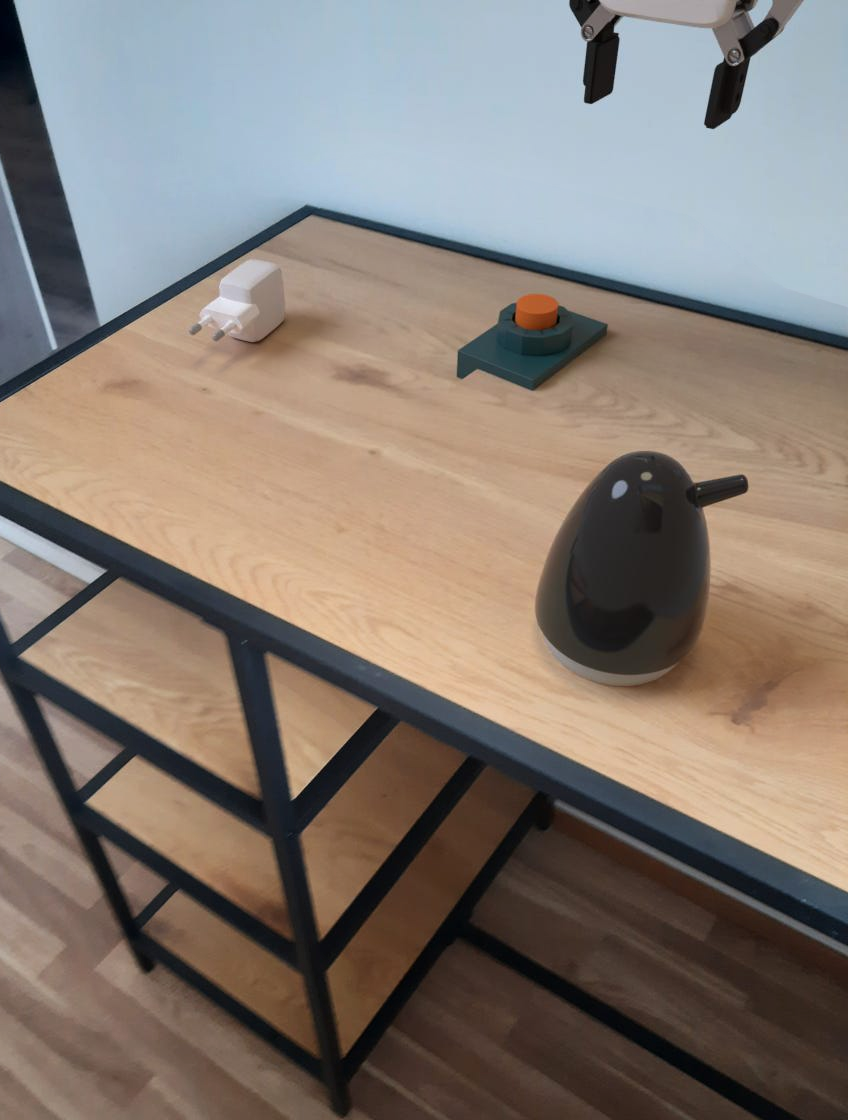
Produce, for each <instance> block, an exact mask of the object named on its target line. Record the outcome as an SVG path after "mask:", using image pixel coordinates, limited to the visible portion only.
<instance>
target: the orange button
mask: <svg viewBox="0 0 848 1120" xmlns="http://www.w3.org/2000/svg"><path fill="white" fill-rule="evenodd" d="M516 303H517V305H516V316H515V323H516V325H517V326H520V327H522V328H525V329H528V330H539V331H541V330H546V329H551V328H553V327H554V326H555V325H556V322H557V314H558V306H559V305H560V304H559V302H558V300H557V299H556V298H554V297H553V296H550V295H547V294H543V293H531V294H526V295H523V296H521V297H519V298H518V299H517V301H516Z"/></svg>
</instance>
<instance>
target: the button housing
mask: <svg viewBox="0 0 848 1120" xmlns="http://www.w3.org/2000/svg"><path fill="white" fill-rule="evenodd" d="M516 305H517V302H512V303H510V304H508V305H507V306H505V307H503V308H502V309H501V310H500V311H499V314H498V319H497V323H496V324H495V325H493V326H491V327H490V328H489V329H487V330H485V331H484V332H483V333H481V334H480V335H478V336H477V337H475V338H474V339H473V340H470V341H469V342H468V343H466V344H465V345H463V346H462V347H460V348H459V349H458V350H457V356H456V357H457V359H456V378H457V379H460V380H464V379H465V378H467V377H468V376H469V375H471V374H472V373H474V372H475V371H476V370H479V371H482V372H485V373H487V374H489V375H492V376H494V377H497V378H500V379H502V380H504V381H507V382H509V383H511V384H515V385H516V386H519V387H521V388H524V389H526V390H529V391H531V392H533V391H535V390H536V389H537V388H538V387H540V386H541V385H542V384H544V383H545V382H546V381H548V380H549V379H551V378H552V377H553V376H554V375H556V374H557V373H558V372H560V371H561V370H562V369H563V368H565V367H566V366H567V365H569V364H570V363H572V361H574V360H576V359H577V358H578V357H579V356H580V355H582V354H584V352H586V351H587V350H588V349H589V348H591V347H592V346H593V345H595V344H596V343H598V342H599V341H600V340H601V339H603V338H604V337H605V336H606V335H607V333H608V327H609V324H608V323H606V322H603V321H600V320H597V319H594V318H592V317H588V316H585V315H583V314H580V313H576V312H574V311H571V310H569V309H567V308H566V307H565V306H562V305H560V304H558V305H559V306H558V314H557V322H556V325H555V326H554V327H553V328H551V329H546V330H541V331H539V330H528V329H525V328H522V327H520V326H517V325H516V323H515V316H516Z"/></svg>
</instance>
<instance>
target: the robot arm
mask: <svg viewBox="0 0 848 1120" xmlns="http://www.w3.org/2000/svg"><path fill="white" fill-rule="evenodd" d="M804 1H805V0H772V4H771V7H770V9H769V10H768V12H767V14H766V15H765V17H764V18H763V20H762V21H761V22H760V23H758V24H757V25H756V26H755V25H754V23H753V21H752V18H751V16H750V13H749V12H750V11H752V10H753V9H754V8H755V7H756V6H757V4H758V2H759V0H569V1H568V2H569V3H568V6H569V8H570V10H571V13H572V14H573V15H574V17H575V19H576V21H577V22H578V24H579V26H580V28H581V29H580V36H581V39H582V40H583V41H584V42H586V46H585V47H586V48H585V56H584V57H585V58H584V66H583V76H582V84H583V86H584V94H583V103H584V104H588V105H593V104H595V103H597V102H599V101H600V100H603V99H604V98H606V97H608V96H610V95H611V94H612V93H613V91H614V86H615V78H616V71H617V64H618V57H619V56H618V55H619V48H620V42H621V41H620V39H621V38H620V36H619V34H620V33H619V32H615V27H616V26H617V25H618V24H619V22H621V20H622V19H623V18H624V17H626V18H631V19H638V20H643V21H649V22H650V21H651V22H655V23H664V24H671V25H676V26H677V25H678V26H683V27H690V28H698V29H711V30H712V33H713V35H714V37H715V39H716V41H717V45H718V47H719V48H720V51H721V52H722V56H723V60H722V62H720V63H718V64H716V66H715V68H714V70H713V75H712V80H711V84H710V85H711V86H710V91H709V96H708V101H707V106H706V110H705V115H704V116H705V117H704V120H703V125H704V126H705V128H706V129H710V130H715V129H717V128H718V127H720V126H721V125H722V124H724V123H725V122H727V121H729V120H730V119H731V118H732V116H733V115H734V114H735V113H736V112H737V111H738V110H739V107H740V106H741V103H742V98H743V93H744V89H745V85H746V80H747V76H748V71H749V68H750V67H749V66H750V61H751V58H752V57H753V56H755V55H756V54H758V53H759V52H760V51H761V50H762V49H763V48H765V47H766V45H768V44H769V43H770V42H772V41H773V40H774V39H776V37H778V36H779V35H781V33H782V32H783V31H784V29H785V27H786V25H787V23H788V22H789V21H790V20H791V19H792V17H793V16H794V14H795V13H796V12H797V11H798V9H799V8H800V7H801V5H802V4H803V2H804Z"/></svg>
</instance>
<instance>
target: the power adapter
mask: <svg viewBox="0 0 848 1120" xmlns="http://www.w3.org/2000/svg"><path fill="white" fill-rule="evenodd" d="M282 271H283V270H282V269H281V267H280V266H279V265H278V264H277V263H274V262H270V261H266V260H261V259H253V258H250V259H247V260H246V261H244V262H242V263H241V264H239V265H238V266H237V267H235V268H234V269H233V270H231V271H229V272H228V273H227V274H226V275H225V276H224V277H222V278H221V280H220V282H219V286H218V291H219V296H218V297H216V298H215V299H213V300H212V301H211V302H210V303H208V304H207V305H205V306H204V307H203V308H201V311H200V313H199V314H198V315H199V318H200V320H199V321H198V322H196V323H195V324H194V325H192V326H190V328H189V329H188V333H189V334H190V335H191V336H195V335H196V334H198V333H199V332H201V331H202V330H203V329H204V328H205V327H208V328H211V329H215V330H217V331H215V332H213V334H212V335H211V339H212V341H214V342H219V341H220V340H221V339H223V338H224V337H225V336H226V335H228V336H229V337H230V338H235V339H237V340H241V341H245V342H250V343H257V342H260V341H261V340H263V339H264V338H265V337H266V336H268V335H269V334H270V333H272V332H273V331H274V330H275V329H276V328H278V326H280V325H281V324H282V322H284V320H285V317H286V315H287V311H286V297H285V287H284V278H283V272H282Z"/></svg>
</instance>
